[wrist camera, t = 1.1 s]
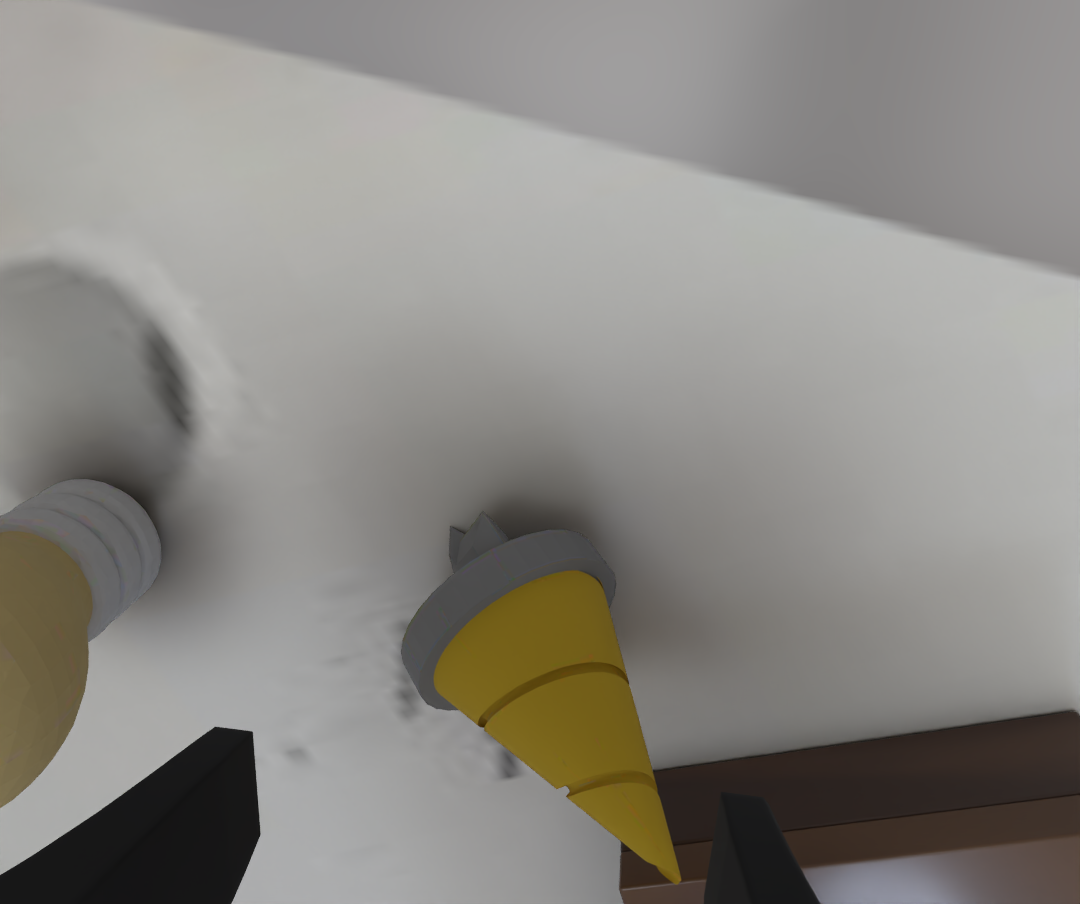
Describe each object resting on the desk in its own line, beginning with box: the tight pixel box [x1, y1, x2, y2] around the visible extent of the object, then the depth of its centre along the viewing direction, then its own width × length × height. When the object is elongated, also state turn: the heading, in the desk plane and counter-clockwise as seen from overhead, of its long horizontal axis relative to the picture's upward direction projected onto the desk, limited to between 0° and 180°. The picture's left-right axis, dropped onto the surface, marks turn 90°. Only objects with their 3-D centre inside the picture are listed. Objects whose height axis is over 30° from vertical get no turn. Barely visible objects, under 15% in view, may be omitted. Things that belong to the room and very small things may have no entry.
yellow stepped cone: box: [401, 511, 681, 885], centre depth 20 cm, size 5×5×10 cm
